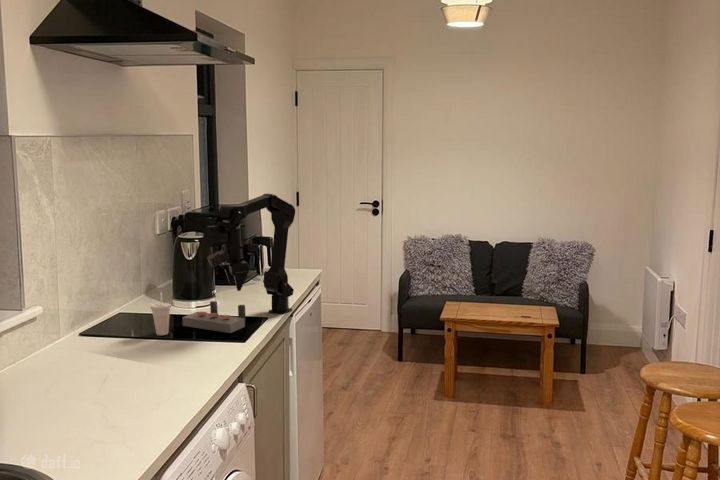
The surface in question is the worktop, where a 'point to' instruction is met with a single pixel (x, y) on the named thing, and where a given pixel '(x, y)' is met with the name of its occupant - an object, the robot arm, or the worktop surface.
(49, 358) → the worktop surface
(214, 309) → the peg
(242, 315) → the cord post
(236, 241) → the robot arm
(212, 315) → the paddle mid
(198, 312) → the paddle left
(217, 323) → the power strip
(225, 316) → the paddle right
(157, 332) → the smoothie
